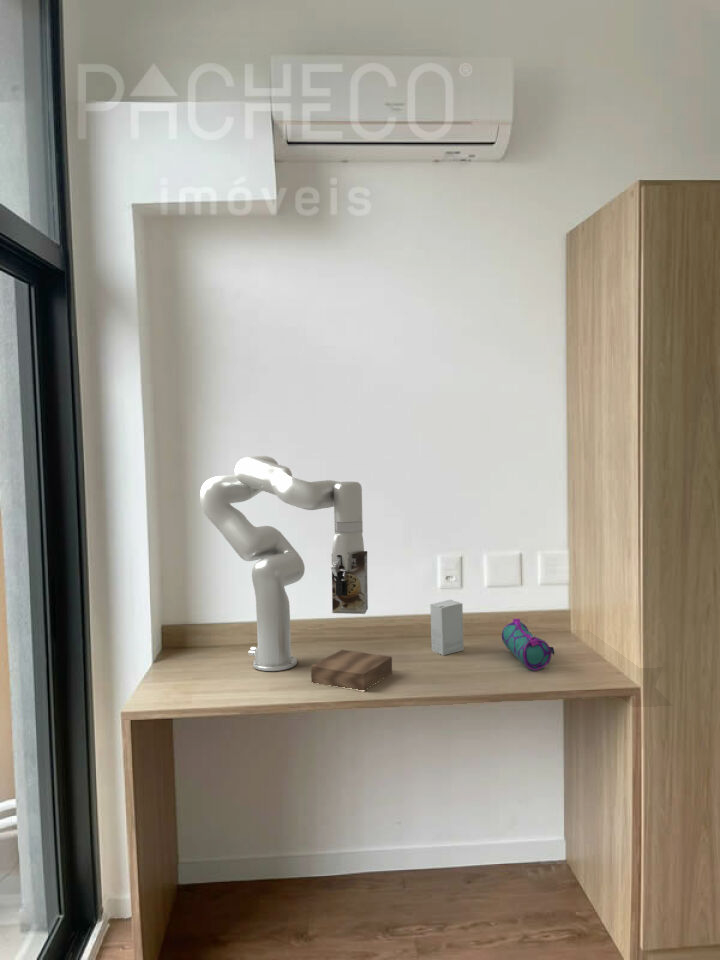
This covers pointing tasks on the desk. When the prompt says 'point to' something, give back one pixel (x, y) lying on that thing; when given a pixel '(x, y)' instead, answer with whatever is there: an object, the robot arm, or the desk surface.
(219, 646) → the desk surface
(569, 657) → the desk surface
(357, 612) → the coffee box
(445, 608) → the skincare box
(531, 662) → the pencil case
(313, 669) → the walnut block
